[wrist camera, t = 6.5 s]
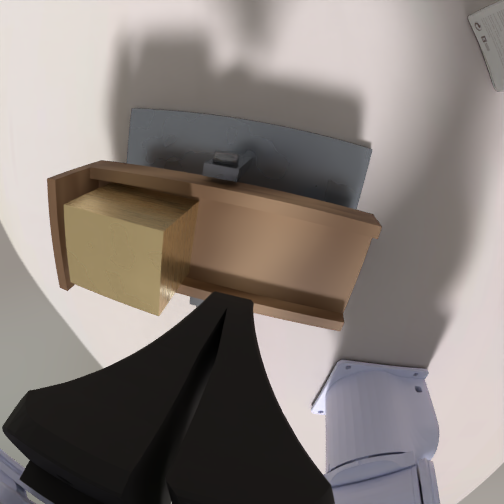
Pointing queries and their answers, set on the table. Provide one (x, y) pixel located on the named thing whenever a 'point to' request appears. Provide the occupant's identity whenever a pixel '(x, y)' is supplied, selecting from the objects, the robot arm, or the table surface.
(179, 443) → the robot arm
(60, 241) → the balance beam
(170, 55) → the table surface
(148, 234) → the block
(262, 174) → the pivot stand
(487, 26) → the skincare box
